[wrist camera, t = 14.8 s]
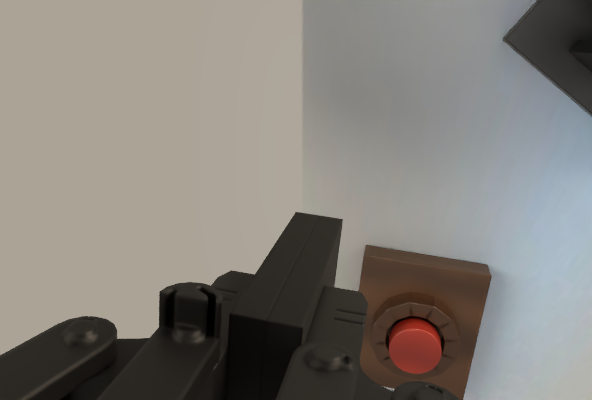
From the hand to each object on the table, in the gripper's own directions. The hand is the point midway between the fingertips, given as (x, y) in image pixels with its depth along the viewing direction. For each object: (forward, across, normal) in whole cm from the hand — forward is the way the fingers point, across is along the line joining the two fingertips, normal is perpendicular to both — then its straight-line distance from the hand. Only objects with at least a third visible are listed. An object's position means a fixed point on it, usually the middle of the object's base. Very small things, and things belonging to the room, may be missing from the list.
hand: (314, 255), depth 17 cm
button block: (+26, +6, -16) cm, 31 cm away
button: (+23, +6, -16) cm, 28 cm away
